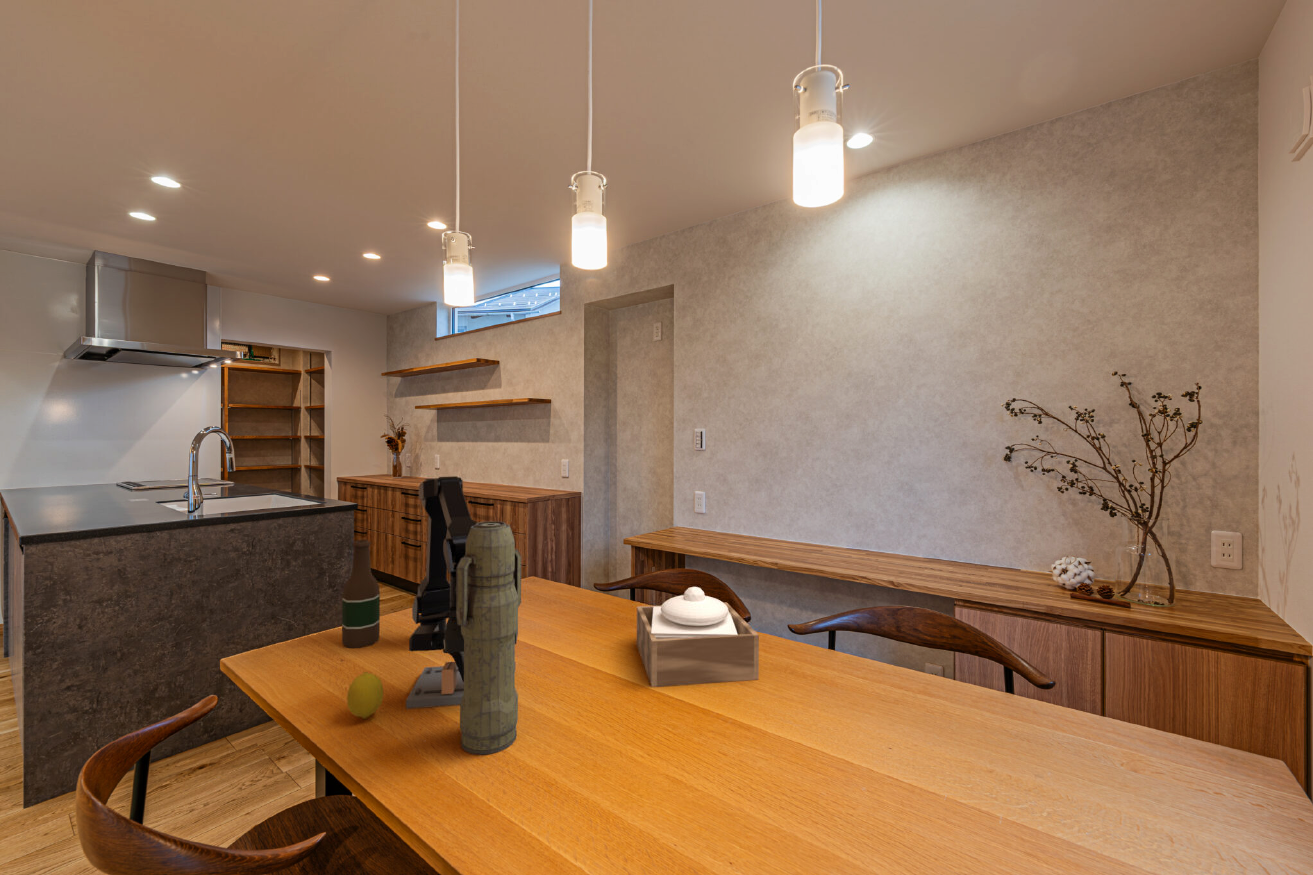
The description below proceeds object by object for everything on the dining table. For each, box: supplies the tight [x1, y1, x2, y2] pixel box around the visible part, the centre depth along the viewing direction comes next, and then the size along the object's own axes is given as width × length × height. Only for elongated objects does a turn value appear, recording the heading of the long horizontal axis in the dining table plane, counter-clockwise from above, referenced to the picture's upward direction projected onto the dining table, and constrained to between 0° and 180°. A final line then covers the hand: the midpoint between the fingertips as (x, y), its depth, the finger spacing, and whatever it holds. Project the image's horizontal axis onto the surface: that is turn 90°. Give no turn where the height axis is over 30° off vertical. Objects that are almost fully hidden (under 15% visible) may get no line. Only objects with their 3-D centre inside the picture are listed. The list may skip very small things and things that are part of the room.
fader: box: [442, 661, 457, 694], centre depth 102 cm, size 4×2×4 cm, turn 10°
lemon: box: [346, 671, 384, 720], centre depth 95 cm, size 6×6×8 cm
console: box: [405, 661, 517, 709], centre depth 107 cm, size 14×18×2 cm
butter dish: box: [651, 586, 738, 639], centre depth 121 cm, size 18×18×16 cm
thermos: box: [456, 520, 522, 756], centre depth 89 cm, size 9×12×35 cm
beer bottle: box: [341, 539, 381, 649], centre depth 129 cm, size 8×8×24 cm
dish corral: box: [636, 602, 760, 688], centre depth 121 cm, size 22×22×9 cm
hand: (465, 680), depth 103 cm, fingers closed
